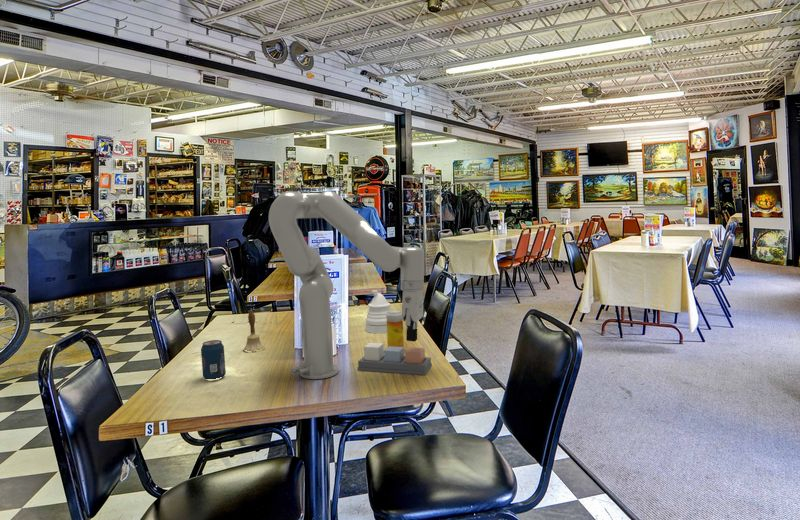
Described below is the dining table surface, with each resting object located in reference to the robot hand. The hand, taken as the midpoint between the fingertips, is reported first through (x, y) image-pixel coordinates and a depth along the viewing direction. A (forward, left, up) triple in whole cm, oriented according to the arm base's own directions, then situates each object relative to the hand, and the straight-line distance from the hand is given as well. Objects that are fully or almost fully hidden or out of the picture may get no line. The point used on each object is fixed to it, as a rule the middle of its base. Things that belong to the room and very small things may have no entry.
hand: (411, 340), depth 152 cm
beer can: (+11, +21, -10) cm, 25 cm away
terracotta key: (+1, -1, -8) cm, 8 cm away
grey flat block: (-3, +6, -10) cm, 12 cm away
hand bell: (-25, +65, -10) cm, 70 cm away
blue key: (-3, +6, -8) cm, 10 cm away
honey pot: (+28, +50, -10) cm, 58 cm away
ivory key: (-7, +12, -7) cm, 15 cm away
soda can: (-49, +43, -10) cm, 66 cm away
